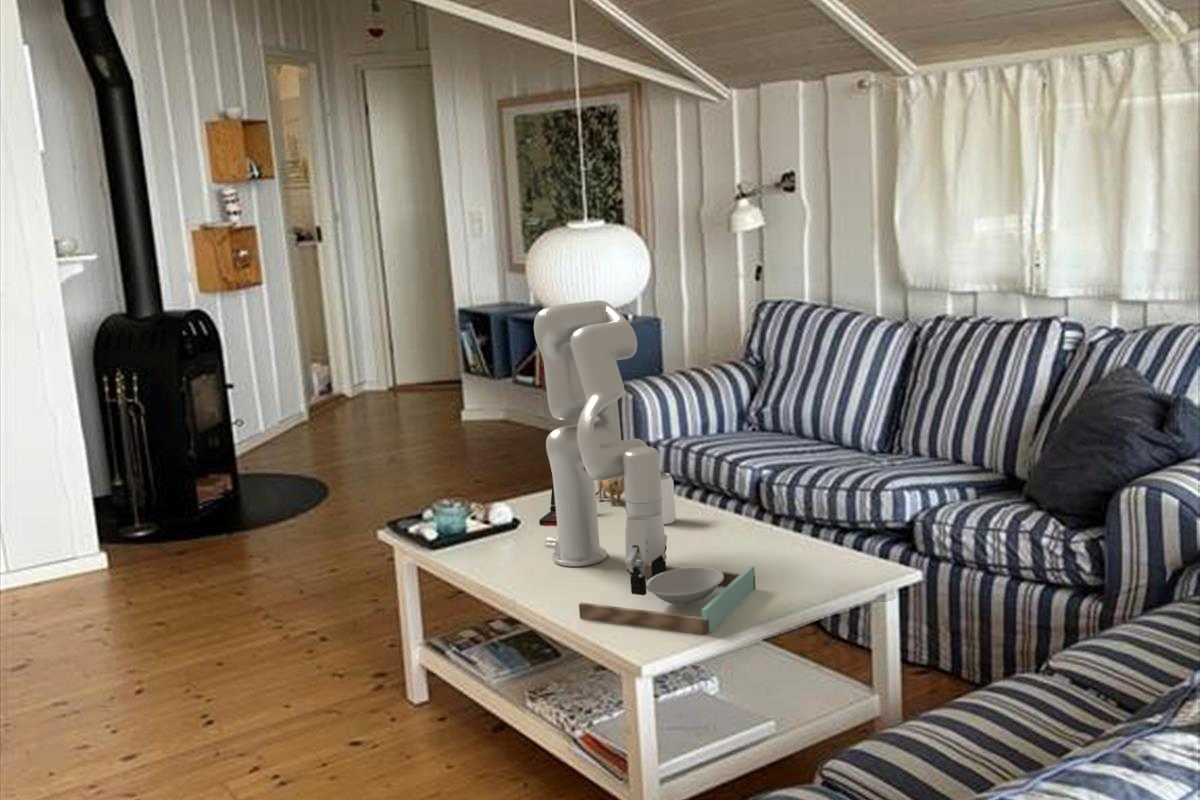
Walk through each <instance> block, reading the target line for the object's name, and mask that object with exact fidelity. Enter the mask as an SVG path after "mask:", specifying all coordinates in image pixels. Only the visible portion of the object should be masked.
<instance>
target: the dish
mask: <svg viewBox="0 0 1200 800" xmlns="http://www.w3.org/2000/svg"><path fill="white" fill-rule="evenodd" d="M722 572H723V571H721V570H719V569H716V568H712V567H707V566H687V567H686V566H685V567H681V568H678V569H673V570H669V571H665V572H662V573H660V574H657V575H655V576H654V577H652V578H651V579H648V580H646V581H647V582H646V591H648V592H650V593H652V594H653V595H655V597H657V598H658V599H660V600H661V601H662V602H663V601H664V602H666V603H669V604H674V605H690V604H693V603H697V602H699V601H701V600H704V599H705V598H707V597H708V596H709V595H710V594H712V593H713V592H714V591H715V590H716V589H717V587H719V586H718V585H719V584H720V583H721V582H722V581H723V579H724V575H723V573H722Z"/></svg>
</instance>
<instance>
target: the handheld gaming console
mask: <svg viewBox="0 0 1200 800" xmlns="http://www.w3.org/2000/svg"><path fill="white" fill-rule="evenodd" d="M550 497H551V499H550V507H549V510H550V511H549V512H547V513H546V514H545V515H544V516H542V517H541V518H540V519H539V526H550V525H552V526H554V527H557V518H556V506H555V495H554V484H553V480H552V484H551V496H550ZM552 526H551V527H552Z"/></svg>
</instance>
